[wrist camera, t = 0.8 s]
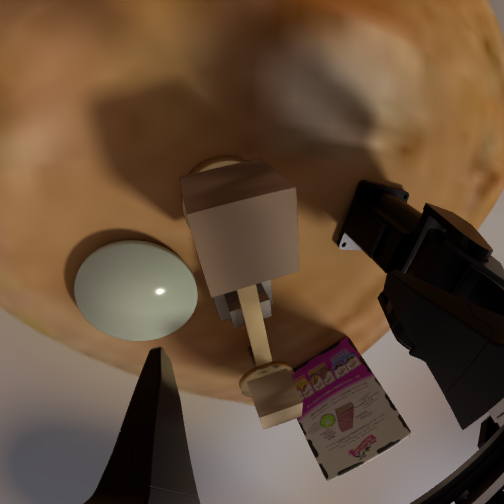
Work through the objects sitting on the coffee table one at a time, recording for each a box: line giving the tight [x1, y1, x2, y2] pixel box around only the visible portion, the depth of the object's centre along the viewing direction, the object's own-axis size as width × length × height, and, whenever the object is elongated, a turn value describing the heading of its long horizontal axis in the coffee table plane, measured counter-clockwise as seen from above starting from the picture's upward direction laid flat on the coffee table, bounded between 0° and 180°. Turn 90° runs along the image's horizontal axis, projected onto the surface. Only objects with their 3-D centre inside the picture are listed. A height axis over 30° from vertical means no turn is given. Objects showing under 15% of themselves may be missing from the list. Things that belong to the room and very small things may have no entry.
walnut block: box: [179, 158, 299, 298], centre depth 16 cm, size 5×5×5 cm
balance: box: [181, 155, 295, 397], centre depth 22 cm, size 24×6×5 cm, turn 8°
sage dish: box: [74, 240, 198, 341], centre depth 21 cm, size 10×10×1 cm
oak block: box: [247, 368, 303, 429], centre depth 24 cm, size 4×4×4 cm
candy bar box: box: [293, 337, 411, 481], centre depth 30 cm, size 11×5×16 cm, turn 120°
